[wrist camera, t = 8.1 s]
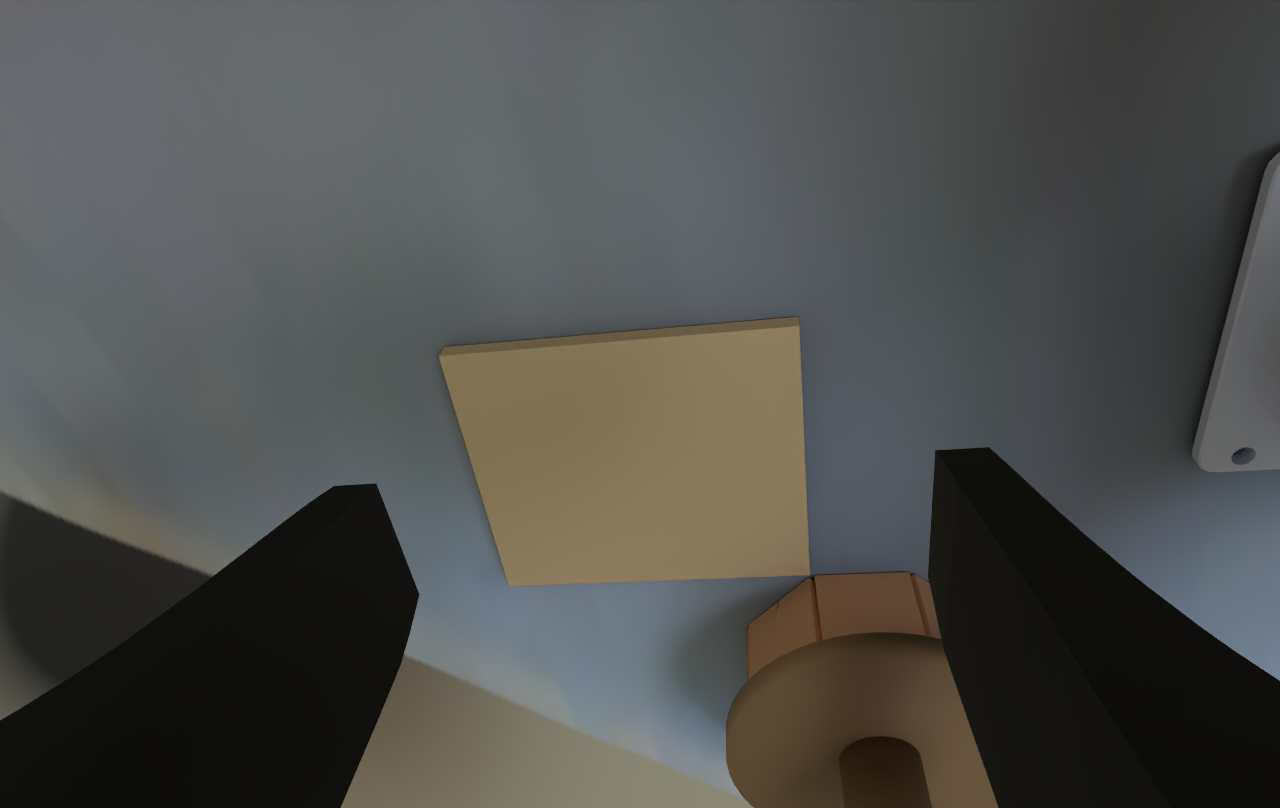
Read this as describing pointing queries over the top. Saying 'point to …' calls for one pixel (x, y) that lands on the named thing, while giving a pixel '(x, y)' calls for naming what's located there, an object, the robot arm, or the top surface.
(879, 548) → the top surface
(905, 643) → the lid
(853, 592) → the bowl
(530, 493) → the mat
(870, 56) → the top surface
